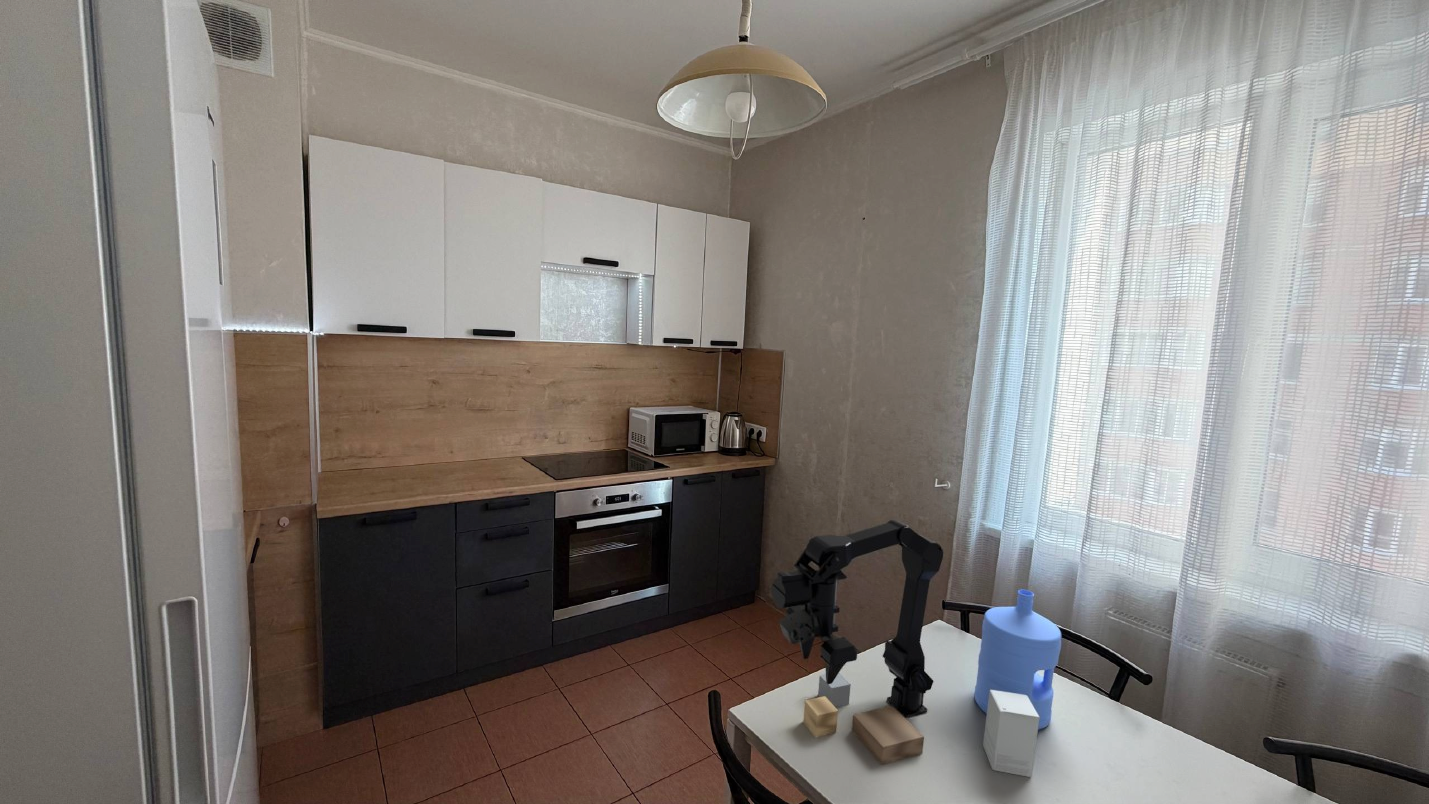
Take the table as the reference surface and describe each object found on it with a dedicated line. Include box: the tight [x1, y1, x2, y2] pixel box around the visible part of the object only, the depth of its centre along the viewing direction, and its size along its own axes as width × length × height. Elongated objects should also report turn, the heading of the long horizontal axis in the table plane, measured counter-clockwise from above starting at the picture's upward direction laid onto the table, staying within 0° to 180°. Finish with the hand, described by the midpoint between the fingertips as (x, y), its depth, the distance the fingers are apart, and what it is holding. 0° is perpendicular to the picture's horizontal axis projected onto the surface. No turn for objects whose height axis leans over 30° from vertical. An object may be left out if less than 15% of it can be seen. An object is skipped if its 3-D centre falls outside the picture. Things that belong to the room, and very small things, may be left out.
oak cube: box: [802, 696, 839, 738], centre depth 121 cm, size 5×5×5 cm
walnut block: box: [851, 705, 925, 765], centre depth 118 cm, size 10×10×4 cm
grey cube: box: [817, 672, 851, 708], centre depth 131 cm, size 5×5×5 cm
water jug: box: [973, 589, 1062, 730], centre depth 130 cm, size 16×16×28 cm
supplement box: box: [982, 690, 1040, 778], centre depth 114 cm, size 7×7×13 cm
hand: (817, 670), depth 119 cm, fingers open, 9 cm apart
